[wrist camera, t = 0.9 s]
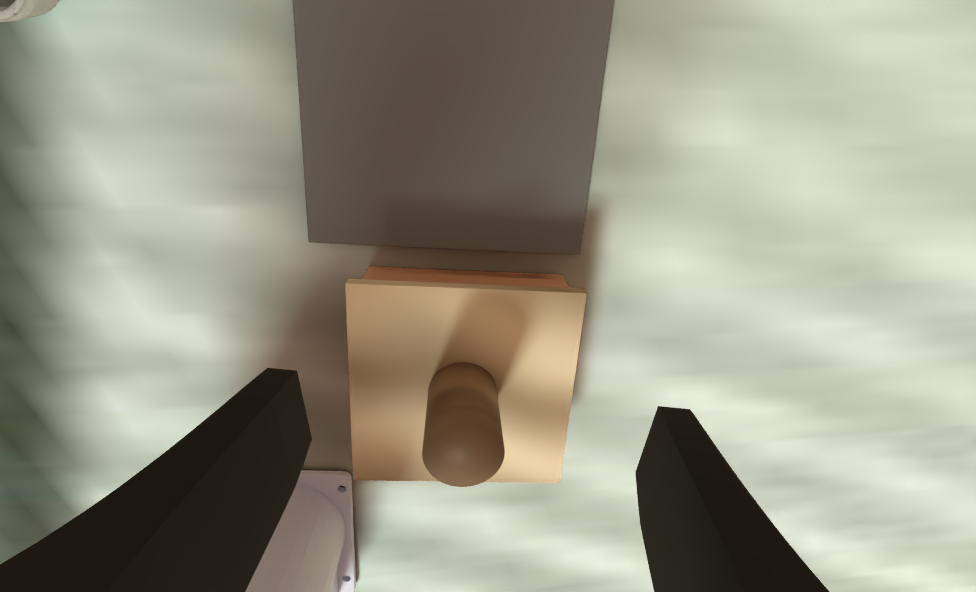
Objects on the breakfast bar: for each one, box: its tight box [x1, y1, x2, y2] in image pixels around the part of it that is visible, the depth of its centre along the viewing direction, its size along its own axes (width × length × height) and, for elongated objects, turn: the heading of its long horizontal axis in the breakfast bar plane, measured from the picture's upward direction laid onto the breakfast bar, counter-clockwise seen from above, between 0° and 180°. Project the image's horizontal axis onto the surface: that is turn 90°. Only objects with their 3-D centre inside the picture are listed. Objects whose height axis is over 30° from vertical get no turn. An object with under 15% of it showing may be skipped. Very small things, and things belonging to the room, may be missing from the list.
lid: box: [345, 279, 587, 487], centre depth 22 cm, size 10×10×5 cm
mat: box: [293, 0, 614, 255], centre depth 23 cm, size 11×13×1 cm
